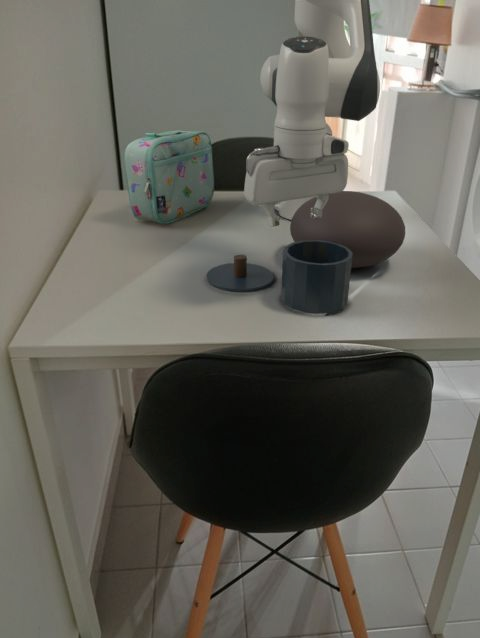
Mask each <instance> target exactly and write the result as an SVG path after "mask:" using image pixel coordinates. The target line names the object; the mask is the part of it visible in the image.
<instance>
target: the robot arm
mask: <svg viewBox="0 0 480 638" xmlns="http://www.w3.org/2000/svg"><path fill="white" fill-rule="evenodd" d="M371 15H372V14H371V5H370V0H294V17H293V19H294V20H293V21H294V25H295V27H296V29H297V30H298V31H299V32H300V33H301V34H302V35H303V36H296V37H295V36H294V37H290V38H287V39H286V40H284V41H283V42H282V43H281V46H280V50H279V54H274V55H270V56H268V58H267V59H266V60H265V61H264V63H263V65H262V68H261V69H260V75H259V76H260V77H259V78H260V86H261V89H262V92H263V93H264V94H265V96H266V97H267V98H268V99H269V100H270V101H271V102H272V103H273V105H274V106H275V107H276V115H275V118H274V123H273V146H267V147H257V148H254V149H253V151H251V152H250V153H249V154H248V156H247V157H246V166H245V167H246V172H245V179H244V188H243V196H244V198H245V199H246V201H247V202H249V204H252V205H254V206H261V205H262V208H263V211H264V212H265V214H266V216H267V225H268V226H269V227H271V228H274V227H278V226H280V221H281V217H282V218H284V219H287V220H290V221H291V220H292V217H293V215H294V214H295V212H296V211H297V209H298V208H299V207H300V206H301V205H302V204H304V203H305V202H307V201H309V200H310V199H312V198H314V197H316V198H318V199H317V202H316V204H315V206H314V207H313V208H311V209H310V212H311V213H310V217H311V218H313V219H318V218H321V217H322V209H323V208H324V207H325V205H326V203H327V201H328V198H329V194H333V193H339V192H342V191H345V189H346V187H347V184H348V177H349V159H348V156H347V153H348V151H349V141H348V140H345V139H343V138H340V137H338V136H335V135H333V131H332V128H331V126H330V125H329V124H328V123H327V121H326V118H336V119H337V118H338V119H339V118H340V119H342V120H347V121H355V122H360V121H361V120H363V119H365V118H366V117H367V116H369V115H371V113H372V112H374V111H375V110H376V108H377V105H378V102H379V99H380V93H381V81H380V75H379V71H378V68H377V67H378V66H377V59H376V54H375V46H374V35H373V33H374V32H373V24H372V23H373V22H372V16H371ZM345 23H346V25H347V28H348V37H349V40H348V38H347V34H346V30H345ZM274 210H275V211H277V212H278V214H279V215H278V214H275V212H274Z"/></svg>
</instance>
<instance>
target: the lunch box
mask: <svg viewBox="0 0 480 638" xmlns="http://www.w3.org/2000/svg"><path fill="white" fill-rule="evenodd" d="M212 145H213V144H212V139H211V137H210V135H209V134H208V133H207V132H206V131H203V130H199V131H189V130H178V129H177V130H171V131H170V130H169V131H163V132H160V133H156V132H145V136H142V137H140V138H137V139H135V140H133V141H131V142H130V143H128V145H127V146H126V148H125V150H124V154H123V159H124V160H123V162H124V170H125V171H124V172H125V178H126V180H125V181H126V186H127V195H128V200H129V205H130V209H131V213H132V215H133V216H134V218H135V219H137V220H138V221H139V220H140V221H145V222H152V223H153V222H154V223H158V224H160V225H167V224H173V223H175V222H177V221H180V220H181V219H183V218H186V217H188V216H190V215H192V214H194V213H196V212H198V211H200V210H202V209H204V208H206V207H207V206H209V205H210V203H211V202H212V200H213V197H214V194H215V176H214V175H215V174H214V161H213V146H212Z"/></svg>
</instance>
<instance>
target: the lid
mask: <svg viewBox="0 0 480 638" xmlns="http://www.w3.org/2000/svg"><path fill="white" fill-rule="evenodd" d="M274 278H275V277H274V273H273V272H272V271H271V270H270V269H269V268H267V267H266V266H262V265H259V264H255V263H248V257H247V255H245V254H236V255H234V256H233V262H229V263H224V264H219V265H216V266H214V267H212V268H211V269H209V270H208V271H207V273H206V281H207V283H208V284H209V285H210V286H212V287H214V288H216V289H219V290H222V291H228V292H235V293H246V292H247V293H249V292H255V291H260V290H262V289H266V288H267V287H269V286H270V285H272V283H273V282H274V280H275V279H274Z"/></svg>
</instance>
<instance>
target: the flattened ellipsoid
mask: <svg viewBox="0 0 480 638" xmlns="http://www.w3.org/2000/svg"><path fill="white" fill-rule="evenodd" d="M317 199H318V198H316V197H314V198H312V199H310V200H309V201H307V202H305V203H304V204H302V205H301V206H300V207H299V208H298V209H297V211H296V212H295V214H294V215H293V217H292V220H290V224H289V225H290V226H289V230H290V237H291V238H292V240H293V243H294V242H298V241H304V240H321V241H329V242H334V243H338V244H341V245H343V246H345V247H348V248H349V249H350V250H351V251H352V252H353V255H352V265H351V269H360V268H366V267H371V266H375V265H378V264H380V263H383V262H384V261H387V260H388V259H389V258H391V257H392V256H393V255H395V254H396V253H397V252H398V251H399V250H400V248H401V247H402V245H403V243H404V241H405V237H406V225H405V222H404V219H403V217H402V216H401V214H400V213H399V212H398V210H396V208H395V207H393V206H392V205H391V204H390V203H388V202H387V201H385V200H383V199H381V198H379V197H377V196H375V195H371V194H368V193H364V192H360V191H352V190H343V191H342V192H339V193H333V194H329V198H328V201H327V203H326V205H325V207H324V208H323V209H322V217H321V218H318V219H313V218H311V217H310V213H311V212H310V209H311V208H313V207H314V206H315V204H316V202H317Z"/></svg>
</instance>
